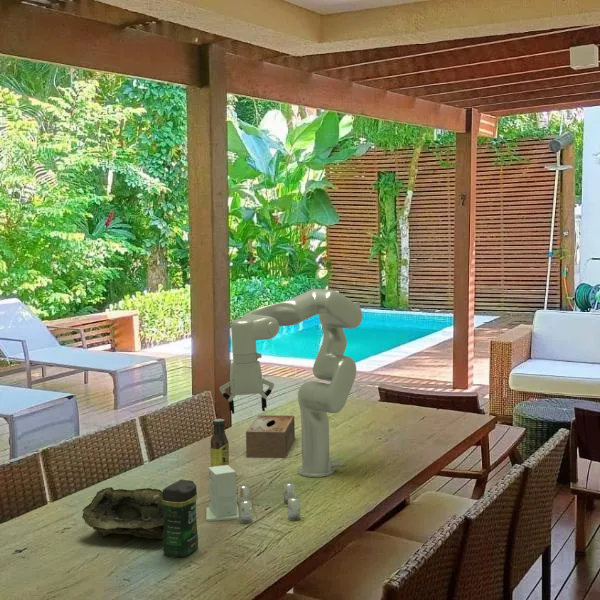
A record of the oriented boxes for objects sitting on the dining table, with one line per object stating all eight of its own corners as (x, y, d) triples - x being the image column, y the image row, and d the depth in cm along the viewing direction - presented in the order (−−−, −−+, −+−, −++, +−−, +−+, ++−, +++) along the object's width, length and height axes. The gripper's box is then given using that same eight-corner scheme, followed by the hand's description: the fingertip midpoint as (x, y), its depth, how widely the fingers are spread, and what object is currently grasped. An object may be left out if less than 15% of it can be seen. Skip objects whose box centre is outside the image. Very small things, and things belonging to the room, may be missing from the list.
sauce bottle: (226, 480, 276) (224, 422, 274) (208, 479, 278) (206, 422, 276) (231, 474, 283) (230, 418, 281) (214, 473, 284) (212, 417, 282)
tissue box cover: (259, 439, 329) (258, 415, 328) (294, 440, 327) (294, 415, 326) (246, 458, 303) (245, 431, 302) (285, 458, 301) (284, 432, 300)
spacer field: (294, 500, 256) (294, 481, 255) (300, 520, 238) (300, 500, 238) (238, 503, 254) (237, 484, 253) (240, 523, 236) (239, 503, 236)
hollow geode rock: (180, 558, 225) (198, 507, 233) (162, 539, 215) (181, 486, 224) (93, 542, 235) (113, 494, 243) (73, 524, 225) (95, 474, 234)
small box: (237, 514, 242) (236, 471, 241) (216, 517, 240) (215, 474, 238) (229, 506, 250) (228, 464, 248) (209, 509, 247) (207, 467, 246)
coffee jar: (186, 560, 212) (183, 490, 210) (159, 556, 214) (156, 487, 213) (203, 546, 221) (201, 478, 219) (177, 542, 223) (175, 476, 222)
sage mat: (238, 507, 250) (237, 505, 250) (239, 519, 240) (239, 517, 240) (206, 509, 249) (206, 507, 249) (206, 521, 239) (206, 519, 239)
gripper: (271, 354, 262) (274, 406, 264) (217, 358, 260) (220, 410, 262) (273, 358, 254) (276, 412, 257) (217, 362, 252) (221, 416, 255)
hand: (248, 411), depth 259 cm, fingers open, 9 cm apart
